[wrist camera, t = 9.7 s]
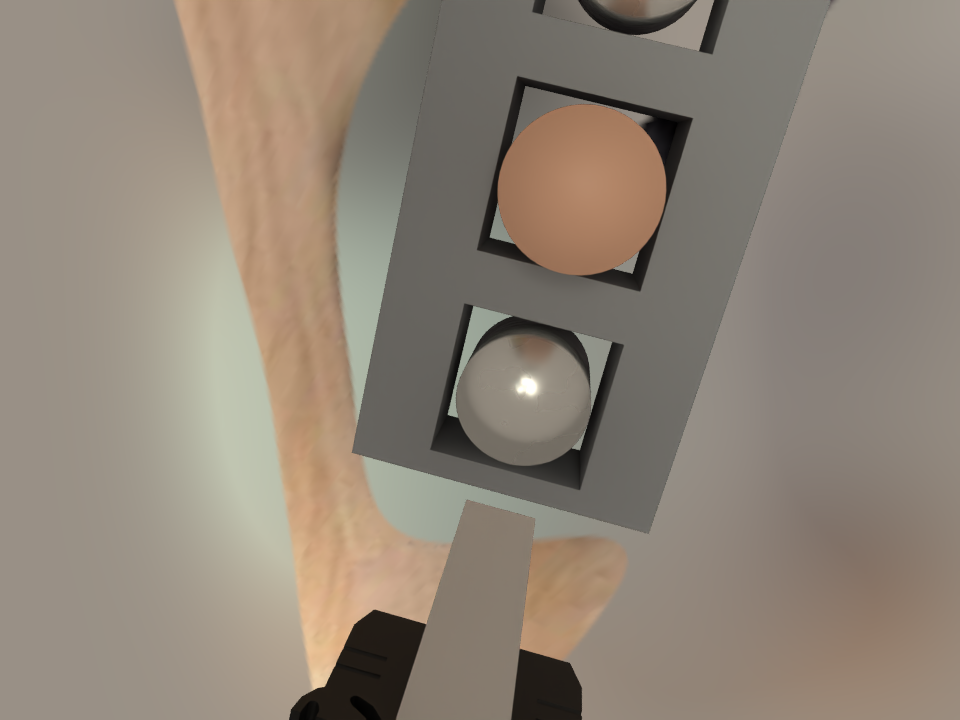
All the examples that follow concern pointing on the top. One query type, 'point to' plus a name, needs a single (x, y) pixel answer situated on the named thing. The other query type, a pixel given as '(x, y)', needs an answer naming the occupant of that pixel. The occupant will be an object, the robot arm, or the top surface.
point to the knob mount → (578, 298)
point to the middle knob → (581, 189)
